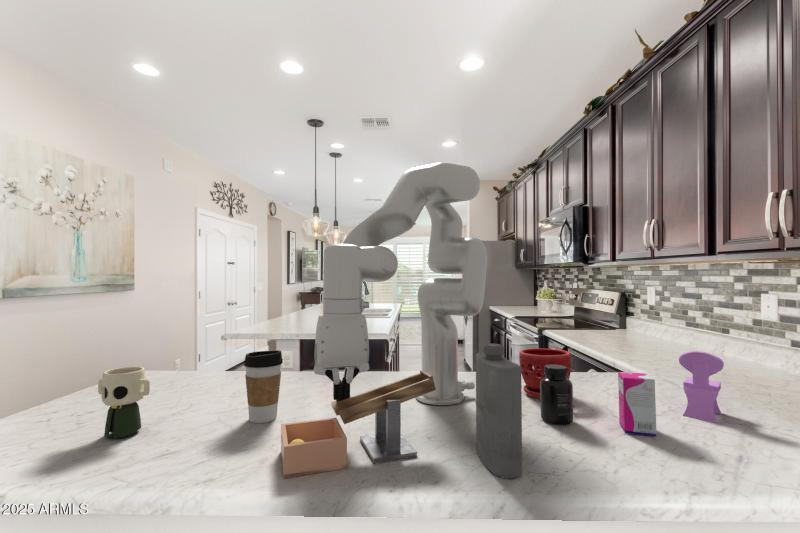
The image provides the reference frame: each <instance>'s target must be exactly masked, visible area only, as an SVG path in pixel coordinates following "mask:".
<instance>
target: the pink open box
mask: <svg viewBox="0 0 800 533" xmlns="http://www.w3.org/2000/svg"><path fill="white" fill-rule="evenodd" d="M342 427H343V426H341V424H340V422H339V420H338V418H337V417H328V418H321V419H312V420H304V421H296V422H287V423H281V424H280V456H281V466H282V474H283V479H291V478H296V477H301V476H307V475H308V476H309V475H313V474H320V473H326V472H327V473H328V472H331V471H338V470H339V471H340V470H344V469H348V437H347V436H346V433H345V432H344V430H343V428H342ZM295 439H301V440H303V441H304V442H303V443H296V444H290V443H291V442H292V441H293V440H295Z"/></svg>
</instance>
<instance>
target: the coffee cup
mask: <svg viewBox="0 0 800 533" xmlns="http://www.w3.org/2000/svg"><path fill="white" fill-rule="evenodd" d="M283 360H284V359H283V356H282V350H279V349H278V350H277V349H276V350H259V351H251V352H248V353H246V354H245V356H244V360H243V366H244V367H245V374H244V375H245V376H244V377H245V387H246V396H247V399H246V400H247V407H248V420H249V422H251V423H253V424H254V423H255V424H264V423H269V422H271V421H274V420H276V419H277V417H278V405H279V396H280V389H281V386H280V385H281V377H282V371H281V367H282V364H283Z"/></svg>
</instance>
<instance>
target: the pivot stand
mask: <svg viewBox="0 0 800 533" xmlns="http://www.w3.org/2000/svg"><path fill="white" fill-rule="evenodd" d="M401 404H402V403H401V400H400V399H391V400H386V409H384V410H381V411H379V412H376V413H374V415H375V417H374V420H375V422H374V423H375V425H374V426H375V427H374V434H366V435H361V436H359V437H360V438H359V441H360V443H361V444H362V446H363V448H364V449H365V451H366V453H367V455H368V456H369V458H370V460H371V461H372V463H373V464H378V463H384V462H390V461H392V462H393V461H397V460H404V459H410V458H416V457H418V451H416V449H415V448H414V447H413V446H412V444H411V443H410V442H409V441H408V440H407V439H406V438H405V437H404V436H403V434H402V433H401V425H402V424H401V418H402V417H401V411H402V410H401V409H402V408H401Z"/></svg>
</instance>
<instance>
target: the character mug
mask: <svg viewBox="0 0 800 533" xmlns="http://www.w3.org/2000/svg"><path fill="white" fill-rule="evenodd" d="M145 371H146V370H145V367H143V366H125V367H124V366H122V367H115V368H112V369H107V370H105V371H103V373H102V376H101V377H102V378H100V379H98V382H97V393H98V394H99V395H101V398H100V399H101V402H102V403H103V404H104V405H105V406H107V407H108V406H109V408H108V410H107V415H106V421H105V426H104V434H103V435H104V437H105V438H109V437H110V433H111V434H113V435H112V437H113V438H120V437H126V436H130V435H132V434H134V433H136V432H138V431H139V430H140V429H142V419H141V418H142V417H141V413H140V411H141V410H140V405H139V404H138V402H139V401H140V400H142V399H143V398H144V396H148V395H149V394H150V393H151V392H150V388H151V385H150V383H151V382H150V379H147V378H145V373H146V372H145Z"/></svg>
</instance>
